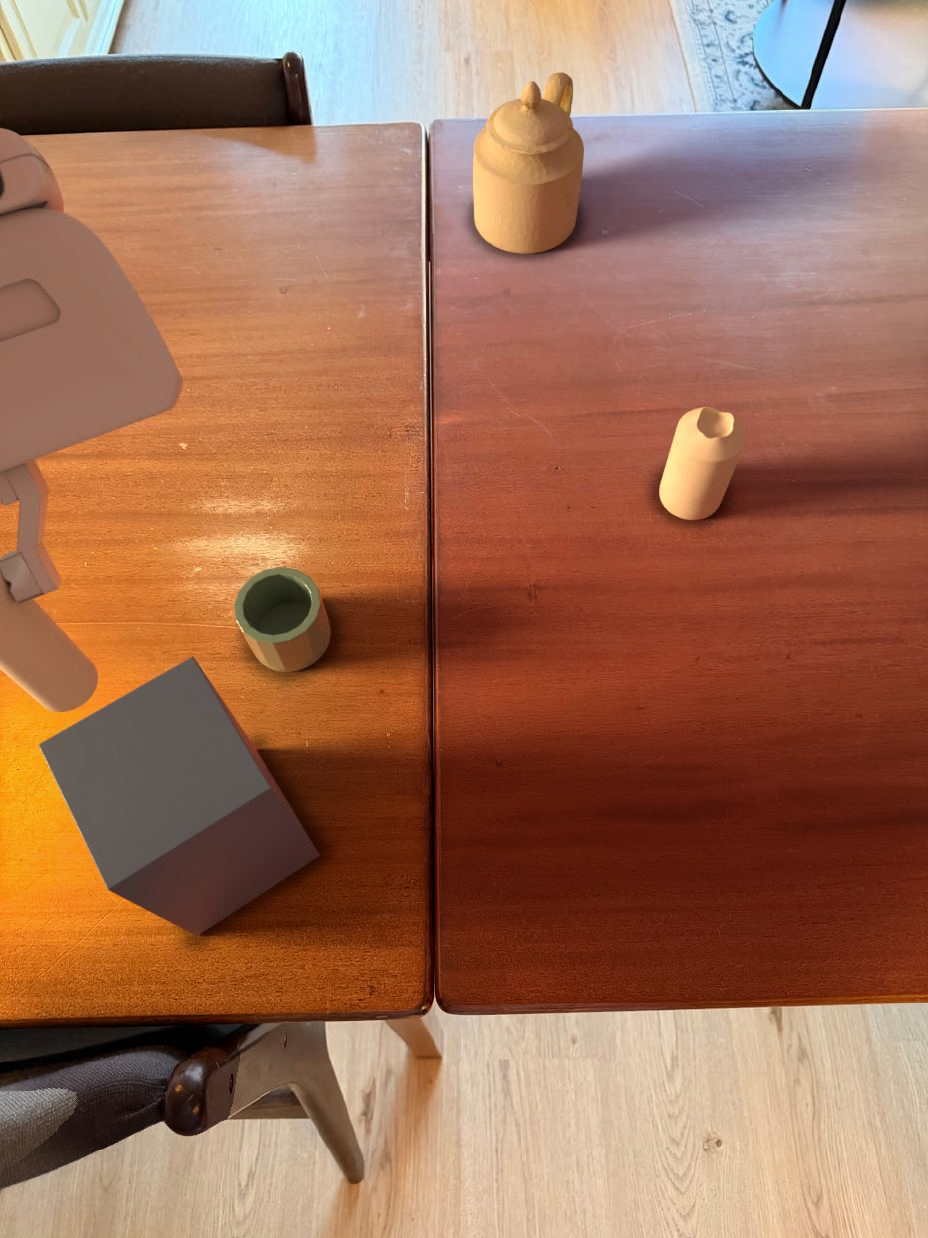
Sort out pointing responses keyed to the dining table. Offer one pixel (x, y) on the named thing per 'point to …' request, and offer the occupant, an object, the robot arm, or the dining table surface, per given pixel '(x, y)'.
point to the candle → (701, 462)
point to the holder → (283, 619)
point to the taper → (42, 655)
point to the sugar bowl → (529, 170)
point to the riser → (177, 801)
